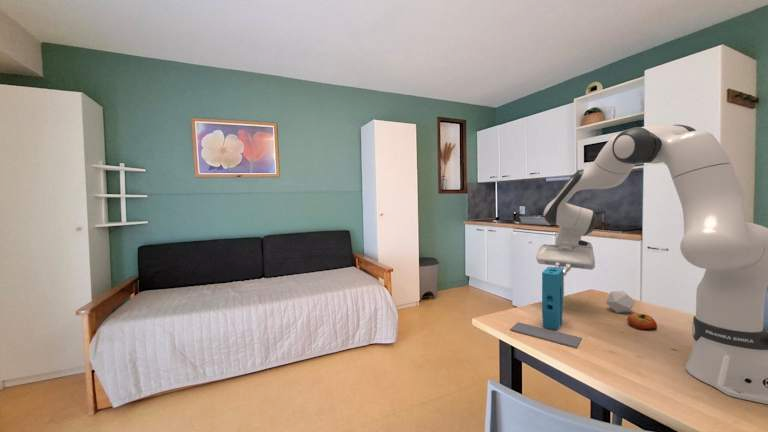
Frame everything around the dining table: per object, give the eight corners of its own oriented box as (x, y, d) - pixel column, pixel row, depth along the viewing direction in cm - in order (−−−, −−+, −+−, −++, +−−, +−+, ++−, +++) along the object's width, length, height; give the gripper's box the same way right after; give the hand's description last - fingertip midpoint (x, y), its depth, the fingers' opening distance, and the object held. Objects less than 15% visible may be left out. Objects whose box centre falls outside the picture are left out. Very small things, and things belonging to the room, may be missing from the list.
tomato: (622, 322, 108) (630, 305, 109) (624, 330, 111) (632, 313, 113) (651, 333, 101) (659, 315, 103) (652, 341, 105) (660, 323, 107)
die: (635, 318, 116) (642, 296, 118) (613, 306, 117) (620, 284, 120) (619, 318, 123) (626, 297, 126) (599, 307, 125) (606, 286, 127)
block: (548, 318, 116) (548, 266, 115) (563, 321, 113) (563, 268, 112) (541, 328, 107) (541, 272, 106) (557, 332, 104) (557, 274, 103)
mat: (581, 339, 99) (581, 337, 99) (576, 348, 93) (576, 346, 93) (517, 323, 112) (517, 322, 112) (510, 330, 106) (510, 329, 106)
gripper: (538, 239, 130) (531, 266, 124) (596, 243, 117) (591, 273, 110) (541, 248, 134) (534, 274, 127) (597, 253, 120) (593, 283, 113)
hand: (561, 274), depth 118 cm, fingers closed
